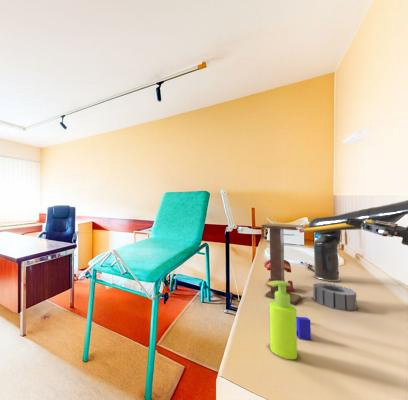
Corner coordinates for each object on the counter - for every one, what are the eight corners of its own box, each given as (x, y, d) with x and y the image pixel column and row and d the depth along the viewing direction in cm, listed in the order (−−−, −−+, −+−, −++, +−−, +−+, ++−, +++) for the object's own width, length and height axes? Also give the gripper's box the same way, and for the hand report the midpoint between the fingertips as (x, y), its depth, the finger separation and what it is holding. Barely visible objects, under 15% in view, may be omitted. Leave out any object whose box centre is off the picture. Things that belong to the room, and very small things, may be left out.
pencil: (300, 233, 88) (298, 229, 88) (300, 232, 89) (299, 228, 89) (373, 224, 72) (371, 220, 72) (373, 222, 73) (371, 219, 73)
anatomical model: (271, 289, 100) (267, 257, 106) (266, 290, 107) (263, 259, 113) (299, 293, 96) (294, 259, 102) (292, 293, 103) (288, 261, 108)
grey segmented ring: (309, 294, 97) (309, 281, 97) (347, 300, 91) (347, 286, 91) (319, 306, 86) (319, 291, 86) (362, 313, 80) (362, 297, 80)
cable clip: (272, 317, 78) (272, 301, 79) (286, 318, 78) (286, 302, 78) (294, 337, 67) (293, 318, 67) (310, 339, 66) (310, 320, 66)
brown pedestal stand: (263, 295, 96) (261, 224, 96) (271, 290, 102) (269, 223, 102) (297, 306, 86) (296, 227, 87) (304, 299, 92) (302, 225, 92)
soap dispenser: (261, 345, 63) (260, 278, 63) (283, 344, 64) (282, 277, 64) (279, 360, 57) (278, 286, 58) (303, 358, 58) (301, 285, 58)
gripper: (436, 222, 66) (354, 208, 80) (437, 230, 59) (346, 213, 73) (426, 244, 68) (347, 226, 82) (426, 255, 61) (339, 233, 74)
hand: (347, 220), depth 77 cm, fingers closed on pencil, 1 cm apart
